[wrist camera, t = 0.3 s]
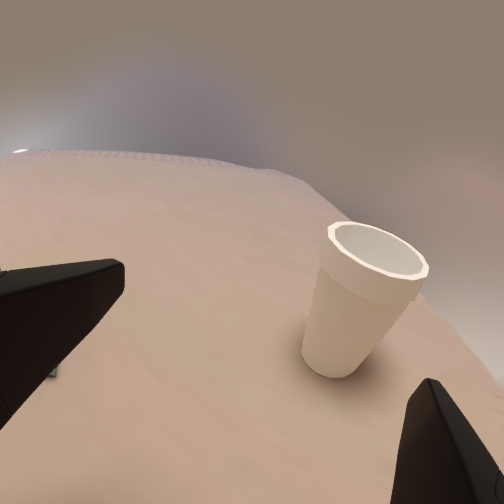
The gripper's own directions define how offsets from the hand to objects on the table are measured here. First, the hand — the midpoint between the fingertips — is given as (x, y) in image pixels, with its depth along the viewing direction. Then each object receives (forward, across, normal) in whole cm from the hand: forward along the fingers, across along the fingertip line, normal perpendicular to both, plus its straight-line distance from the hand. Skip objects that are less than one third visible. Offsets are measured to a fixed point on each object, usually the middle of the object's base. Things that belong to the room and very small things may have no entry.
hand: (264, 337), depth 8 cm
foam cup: (+20, -5, +16) cm, 25 cm away
